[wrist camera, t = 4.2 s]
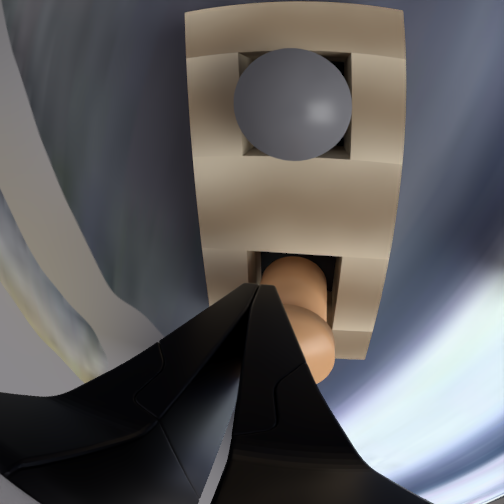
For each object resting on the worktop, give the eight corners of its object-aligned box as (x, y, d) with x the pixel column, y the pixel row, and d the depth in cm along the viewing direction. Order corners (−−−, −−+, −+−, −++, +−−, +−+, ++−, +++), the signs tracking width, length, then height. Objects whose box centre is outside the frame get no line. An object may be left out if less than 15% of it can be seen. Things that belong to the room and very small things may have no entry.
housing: (211, 26, 15) (184, 12, 11) (385, 27, 13) (402, 10, 9) (230, 310, 24) (215, 346, 21) (360, 320, 22) (364, 359, 19)
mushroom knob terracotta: (337, 252, 17) (342, 323, 12) (329, 318, 19) (327, 393, 14) (253, 247, 17) (225, 313, 12) (255, 312, 20) (233, 384, 15)
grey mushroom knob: (340, 64, 14) (351, 50, 10) (340, 143, 17) (350, 164, 12) (258, 63, 15) (231, 50, 10) (260, 140, 18) (236, 160, 13)
